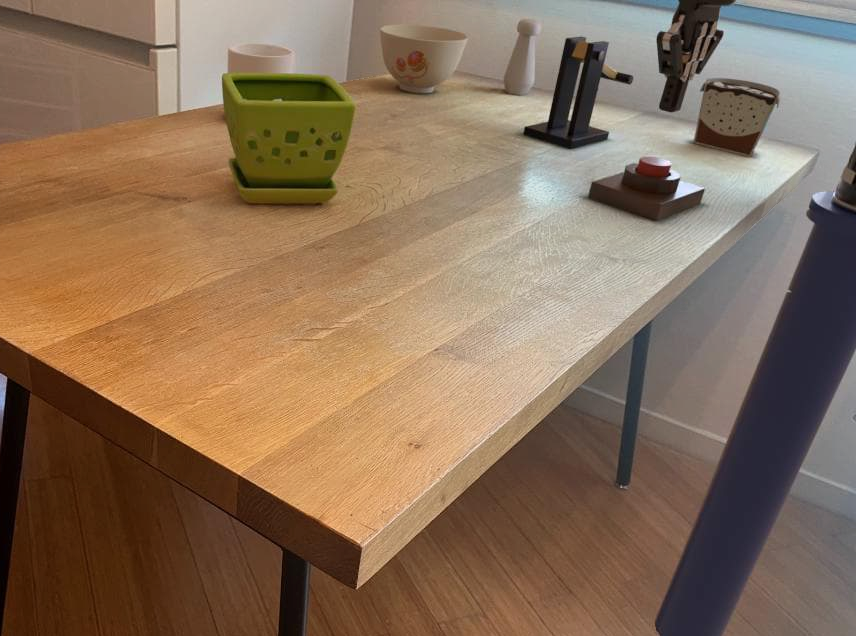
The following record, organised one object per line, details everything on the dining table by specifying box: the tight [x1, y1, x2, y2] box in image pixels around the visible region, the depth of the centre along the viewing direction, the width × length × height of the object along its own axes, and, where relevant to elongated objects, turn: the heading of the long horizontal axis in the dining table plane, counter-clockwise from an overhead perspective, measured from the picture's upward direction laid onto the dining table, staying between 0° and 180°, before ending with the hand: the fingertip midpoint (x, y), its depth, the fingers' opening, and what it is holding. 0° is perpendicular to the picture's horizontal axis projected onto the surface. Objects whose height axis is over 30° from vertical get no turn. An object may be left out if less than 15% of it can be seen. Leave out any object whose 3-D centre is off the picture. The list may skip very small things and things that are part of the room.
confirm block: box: [587, 163, 706, 222], centre depth 114 cm, size 12×10×4 cm
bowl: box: [379, 24, 469, 94], centre depth 159 cm, size 16×16×10 cm
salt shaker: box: [503, 18, 542, 96], centre depth 163 cm, size 6×6×13 cm
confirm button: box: [637, 156, 673, 177], centre depth 113 cm, size 4×4×2 cm
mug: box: [227, 42, 297, 101], centre depth 134 cm, size 13×10×10 cm
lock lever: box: [572, 41, 634, 85], centre depth 138 cm, size 14×6×2 cm, turn 132°
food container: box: [693, 77, 782, 158], centre depth 140 cm, size 12×6×10 cm, turn 49°
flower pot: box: [221, 72, 356, 206], centre depth 104 cm, size 14×14×13 cm
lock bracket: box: [522, 35, 610, 150], centre depth 137 cm, size 11×9×15 cm
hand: (668, 110), depth 109 cm, fingers closed
